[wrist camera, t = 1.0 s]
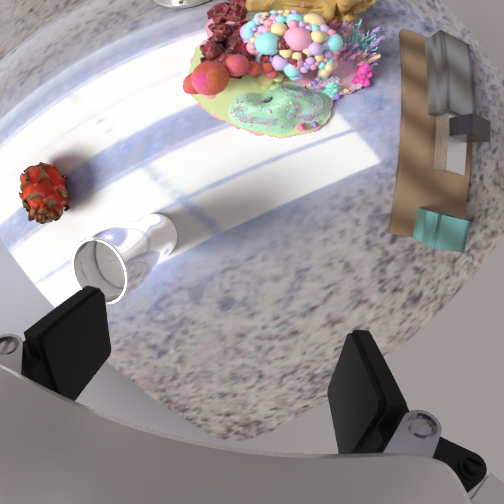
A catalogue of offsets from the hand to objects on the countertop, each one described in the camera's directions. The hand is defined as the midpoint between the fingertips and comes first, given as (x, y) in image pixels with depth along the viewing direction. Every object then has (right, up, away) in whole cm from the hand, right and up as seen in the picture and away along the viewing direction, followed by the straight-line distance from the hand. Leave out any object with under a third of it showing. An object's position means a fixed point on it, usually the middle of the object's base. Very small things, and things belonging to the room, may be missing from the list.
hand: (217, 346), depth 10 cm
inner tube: (+27, +23, +17) cm, 40 cm away
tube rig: (+27, +20, +21) cm, 39 cm away
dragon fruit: (-30, +14, +27) cm, 42 cm away
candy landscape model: (+6, +29, +20) cm, 36 cm away
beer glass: (-12, +6, +28) cm, 31 cm away
